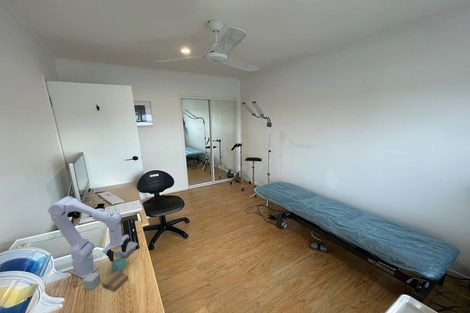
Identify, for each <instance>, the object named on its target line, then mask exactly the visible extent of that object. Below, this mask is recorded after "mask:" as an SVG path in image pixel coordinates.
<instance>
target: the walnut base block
mask: <svg viewBox="0 0 470 313" xmlns="http://www.w3.org/2000/svg"><path fill="white" fill-rule="evenodd" d="M128 280H129V275H128V274H126V273H124V272H121V271H120V272H118V271H116V272H115V271H113V273H112V274H111V275H109V277H107V278H106V279H104V280H103V281H101V282H102V283H101V285H102V287H103V288H104V289H106V290H109V291H112V292H116V291H117V290H118V289H119V288H120V287H121V286H123V284H124V283H125V282H127V281H128Z"/></svg>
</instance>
